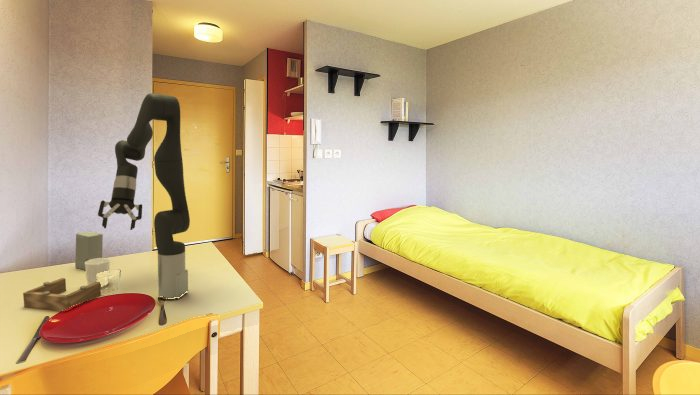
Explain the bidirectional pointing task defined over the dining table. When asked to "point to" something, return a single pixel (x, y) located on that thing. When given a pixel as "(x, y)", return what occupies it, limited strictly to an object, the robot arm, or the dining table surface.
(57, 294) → the wooden tray
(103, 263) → the white cup
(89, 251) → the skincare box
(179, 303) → the dining table surface
